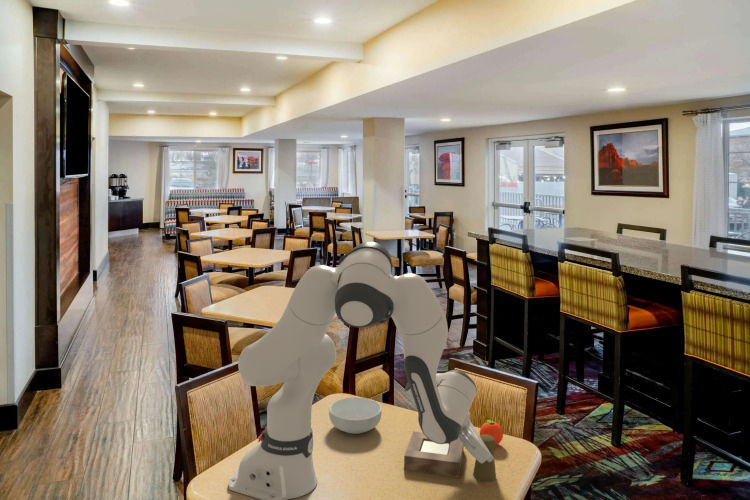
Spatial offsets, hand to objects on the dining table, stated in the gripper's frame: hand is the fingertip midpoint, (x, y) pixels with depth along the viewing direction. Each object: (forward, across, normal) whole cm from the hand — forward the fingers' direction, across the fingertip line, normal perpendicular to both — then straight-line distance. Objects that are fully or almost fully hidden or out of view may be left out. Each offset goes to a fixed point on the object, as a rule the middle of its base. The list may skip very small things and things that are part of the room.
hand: (487, 453), depth 145 cm
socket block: (-4, +9, +13) cm, 17 cm away
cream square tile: (-6, +9, +11) cm, 16 cm away
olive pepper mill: (+4, 0, +5) cm, 7 cm away
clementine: (+9, +18, 0) cm, 20 cm away
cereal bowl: (-19, +30, +28) cm, 46 cm away
